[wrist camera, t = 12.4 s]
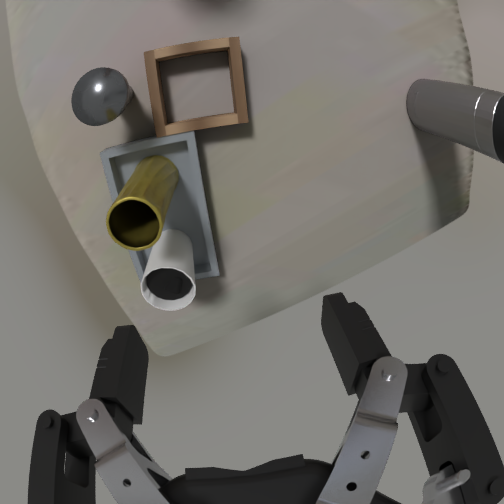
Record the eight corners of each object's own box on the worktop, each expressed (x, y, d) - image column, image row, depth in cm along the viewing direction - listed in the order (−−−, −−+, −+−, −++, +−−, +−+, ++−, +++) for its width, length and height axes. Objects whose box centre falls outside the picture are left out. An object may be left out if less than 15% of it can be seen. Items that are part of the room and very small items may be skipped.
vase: (169, 204, 37) (156, 263, 25) (128, 191, 35) (95, 244, 23) (185, 163, 35) (177, 205, 23) (142, 148, 32) (109, 182, 20)
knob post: (141, 67, 27) (122, 59, 20) (147, 110, 31) (130, 116, 23) (97, 80, 27) (67, 79, 19) (104, 122, 30) (77, 133, 22)
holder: (236, 41, 28) (239, 36, 25) (244, 120, 33) (248, 122, 31) (148, 55, 27) (143, 52, 24) (160, 134, 32) (156, 137, 30)
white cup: (200, 231, 40) (201, 272, 32) (190, 269, 43) (190, 314, 35) (154, 221, 38) (143, 261, 30) (147, 261, 41) (138, 305, 33)
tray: (194, 128, 33) (193, 130, 31) (218, 264, 44) (219, 275, 42) (106, 148, 32) (99, 152, 29) (145, 277, 43) (142, 288, 41)
